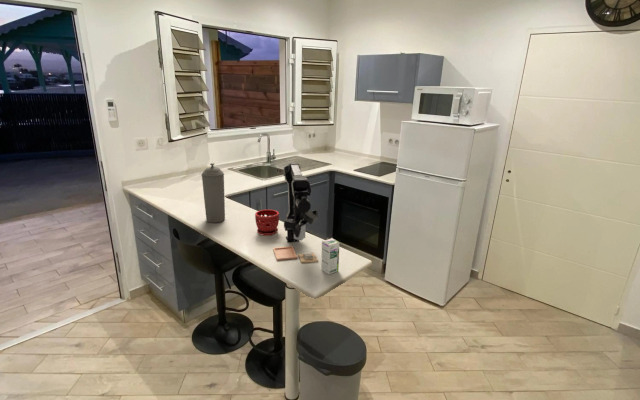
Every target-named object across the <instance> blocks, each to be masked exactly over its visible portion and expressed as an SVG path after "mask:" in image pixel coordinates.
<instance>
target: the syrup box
mask: <svg viewBox="0 0 640 400" xmlns="http://www.w3.org/2000/svg"><path fill="white" fill-rule="evenodd" d="M339 260H340V242H339V241H338V240H336V239H334V238H333V237H331V238H329V239H325V240H321V264H320V265H321V270H322V271H323V272H324V273H326V274H327V275H330V274H333V273H336V272H339V264H340V263H339Z"/></svg>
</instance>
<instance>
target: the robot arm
mask: <svg viewBox="0 0 640 400" xmlns="http://www.w3.org/2000/svg"><path fill="white" fill-rule="evenodd" d="M282 174H283V177H284V181H286V183H287V193H288V194H287V195H288V196H287V198H288V199H287V200H288V202H287V203H288V212H287V214H286V216H285V219H284V222H283V227H284V231H285V232H287V233H286V234H287V235H286V236H285V239H286V242H287V243H293V242H300V240H297V239H294V234H295V236H296V237H298V236H299V229H300V227H301V226H302V225H300V223H303V224H306V225H307V224H309V225H312V224H315V223H316V220H317V219H319V212H318V210H317V209H314V210H311V206H312V205H311V203H310V200H309V199H308V196H309V197H310V196H311V193H312V189H311V183H310V181H309V179H308V178H307V177H306V176H304V175H303V173H302V171H301V166H300V164H299V163H298V162H291V163H288V165H286V166H284V167H283V171H282Z"/></svg>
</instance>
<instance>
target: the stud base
mask: <svg viewBox="0 0 640 400" xmlns="http://www.w3.org/2000/svg"><path fill="white" fill-rule="evenodd" d="M297 258H299V261H300V263H301V264H306V263H307V264H310V263H318V262H319V259H318V258H317V256H316V254H315V252H311V251H310V252H307V251H306V252H303V253H298V254H297Z"/></svg>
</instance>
